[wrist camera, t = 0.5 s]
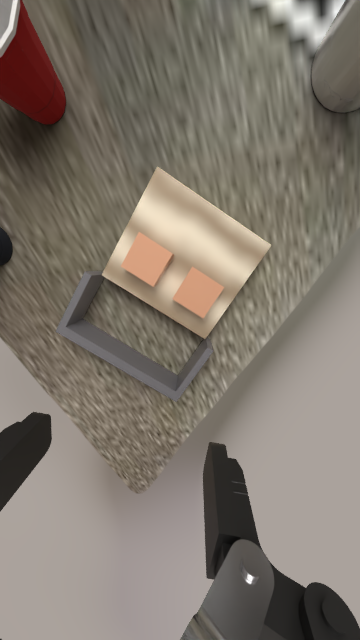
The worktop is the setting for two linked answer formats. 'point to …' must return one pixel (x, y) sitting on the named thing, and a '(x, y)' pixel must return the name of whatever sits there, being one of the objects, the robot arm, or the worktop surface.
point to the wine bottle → (5, 247)
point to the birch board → (187, 250)
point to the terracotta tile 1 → (147, 259)
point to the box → (124, 345)
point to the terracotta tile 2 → (198, 292)
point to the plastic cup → (27, 67)
